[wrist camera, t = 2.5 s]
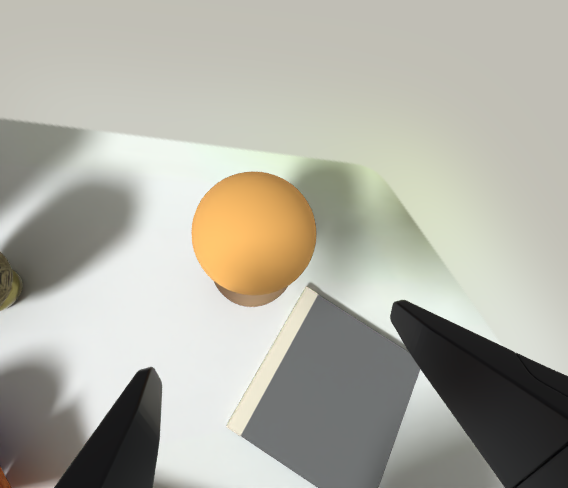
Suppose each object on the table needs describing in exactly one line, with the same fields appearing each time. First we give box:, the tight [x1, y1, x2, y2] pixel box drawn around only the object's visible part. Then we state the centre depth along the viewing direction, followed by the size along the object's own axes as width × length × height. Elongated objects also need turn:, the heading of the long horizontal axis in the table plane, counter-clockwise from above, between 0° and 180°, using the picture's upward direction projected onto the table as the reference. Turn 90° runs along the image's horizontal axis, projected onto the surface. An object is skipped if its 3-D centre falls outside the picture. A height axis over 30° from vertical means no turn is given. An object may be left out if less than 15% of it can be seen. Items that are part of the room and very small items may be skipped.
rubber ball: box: [192, 172, 316, 295], centre depth 13 cm, size 6×6×6 cm
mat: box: [227, 287, 420, 488], centre depth 19 cm, size 12×12×1 cm
